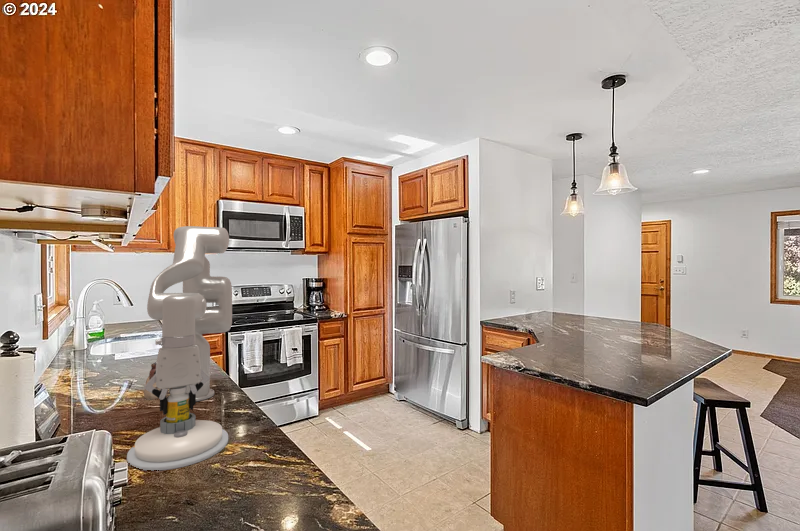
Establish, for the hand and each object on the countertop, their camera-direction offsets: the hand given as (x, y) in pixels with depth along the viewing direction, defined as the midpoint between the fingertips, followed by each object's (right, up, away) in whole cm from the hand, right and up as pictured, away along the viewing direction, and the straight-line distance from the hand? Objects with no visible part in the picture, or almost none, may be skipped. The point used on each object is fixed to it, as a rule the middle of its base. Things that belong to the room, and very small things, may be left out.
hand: (177, 410), depth 101 cm
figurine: (-28, -8, +34) cm, 45 cm away
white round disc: (+3, -7, -4) cm, 9 cm away
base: (+3, -8, -4) cm, 10 cm away
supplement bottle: (0, -4, 0) cm, 4 cm away
